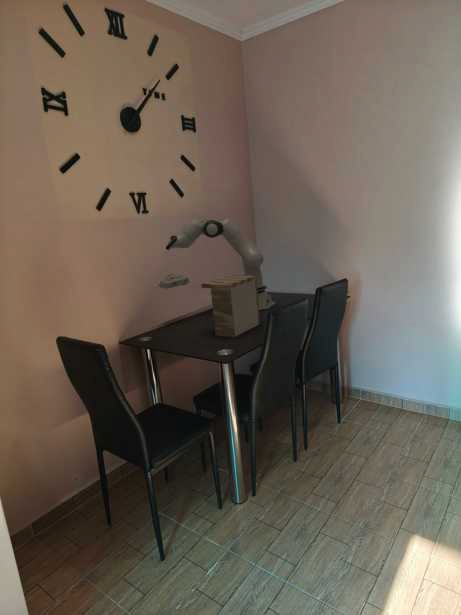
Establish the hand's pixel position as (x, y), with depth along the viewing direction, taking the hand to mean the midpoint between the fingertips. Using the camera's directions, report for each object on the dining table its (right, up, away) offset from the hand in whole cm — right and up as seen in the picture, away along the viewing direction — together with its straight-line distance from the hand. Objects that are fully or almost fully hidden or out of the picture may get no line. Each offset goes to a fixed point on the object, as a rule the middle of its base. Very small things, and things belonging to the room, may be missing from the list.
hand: (184, 283), depth 243 cm
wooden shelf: (+29, -26, -16) cm, 42 cm away
